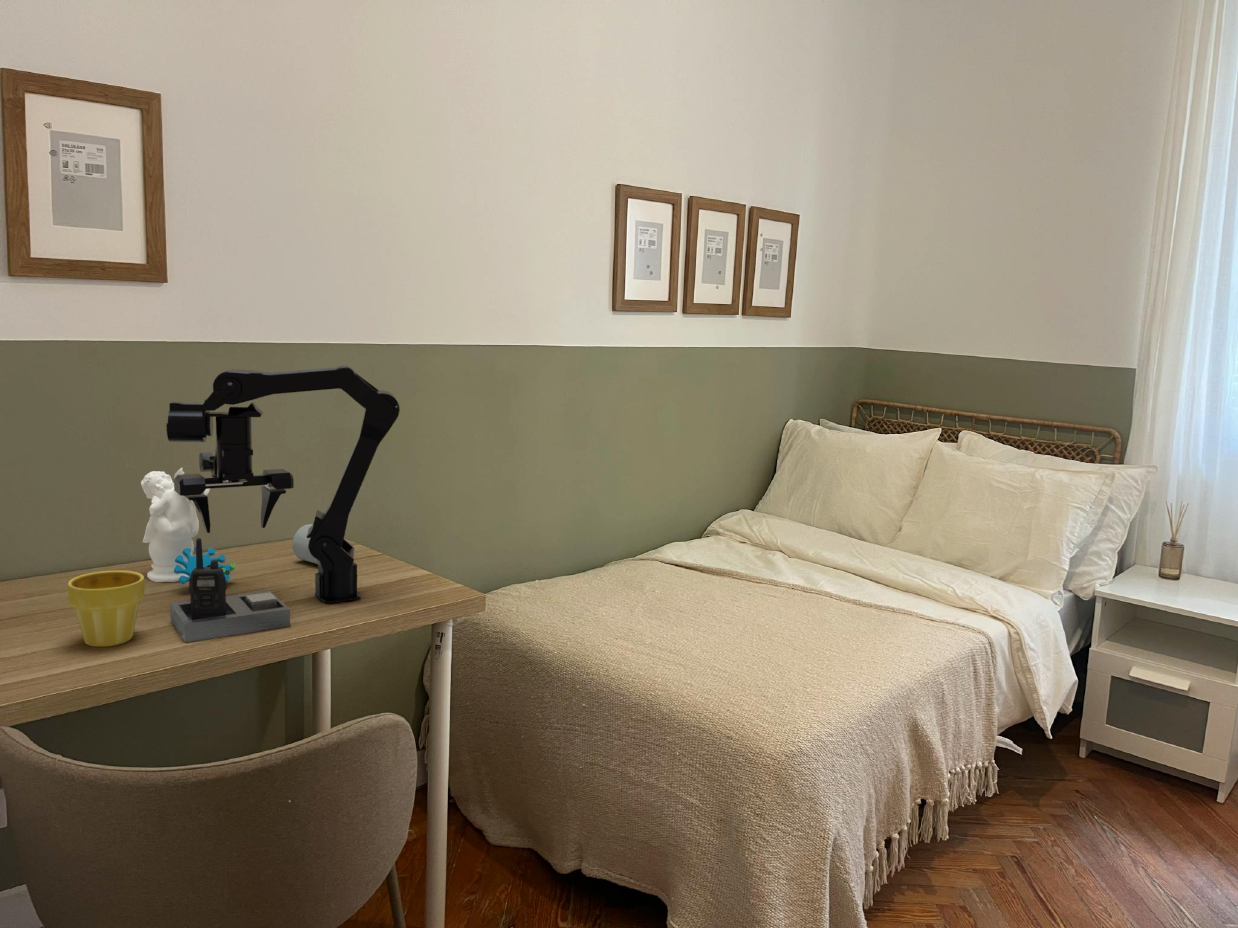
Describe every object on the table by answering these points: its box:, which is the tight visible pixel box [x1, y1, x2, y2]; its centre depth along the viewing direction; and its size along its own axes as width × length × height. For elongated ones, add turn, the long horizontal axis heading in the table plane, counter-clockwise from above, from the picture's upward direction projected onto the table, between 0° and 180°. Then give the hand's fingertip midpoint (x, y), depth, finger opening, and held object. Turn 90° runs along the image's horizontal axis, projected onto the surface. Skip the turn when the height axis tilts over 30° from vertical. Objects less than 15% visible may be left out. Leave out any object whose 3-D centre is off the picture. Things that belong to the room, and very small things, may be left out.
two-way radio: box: [188, 537, 227, 620], centre depth 152 cm, size 6×4×15 cm
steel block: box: [246, 592, 278, 611], centre depth 157 cm, size 4×4×4 cm
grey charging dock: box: [169, 590, 291, 643], centre depth 154 cm, size 16×12×3 cm
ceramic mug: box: [292, 523, 320, 565], centre depth 194 cm, size 11×8×8 cm
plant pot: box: [67, 570, 146, 648], centre depth 144 cm, size 10×10×10 cm
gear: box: [174, 546, 237, 585], centre depth 174 cm, size 11×6×10 cm
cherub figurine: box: [140, 467, 211, 583], centre depth 179 cm, size 12×12×22 cm
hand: (236, 530), depth 164 cm, fingers open, 9 cm apart
